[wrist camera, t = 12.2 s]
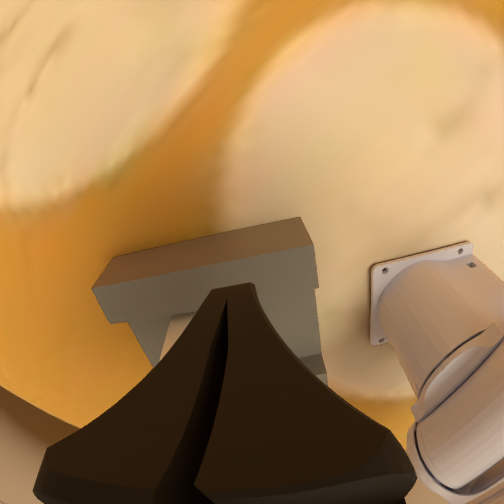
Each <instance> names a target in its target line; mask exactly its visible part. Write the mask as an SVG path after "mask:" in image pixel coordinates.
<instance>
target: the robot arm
mask: <svg viewBox="0 0 504 504" xmlns="http://www.w3.org/2000/svg"><path fill="white" fill-rule="evenodd" d="M459 249H460V251H459ZM458 251H459V252H458ZM383 268H386V269H385V271H382V270H383ZM381 338H382V339H381ZM387 342H390V344H391V346H392V348H393V350H394V352H395V354H396V356H397V358H398V360H399V362H400V364H401V366H402V368H403V370H404V372H405V374H406V376H407V378H408V380H409V382H410V384H411V386H412V388H413V391H414V393H415V395H416V397H417V399H418V400H417V402H416V403H415V404H414V405H413V406H412V407H411V411H412V413H413V415H414V418H415V420H416V421H415V422H414V423H413V424H412V425H411V426H410V428H409V430H408V433H407V453H406V452H405V450H404V449H403V447H402V446H401V444H400V443H399V442H398V440H397V439H396V437H395V436H394V435H393V433H392V432H391V431H390V430H389V429H388V428H386V427H384V426H383V425H381V424H379V423H378V422H376V421H374V420H373V419H371V418H370V417H368V416H367V415H365V414H364V413H362V412H361V411H359V410H358V409H356V408H355V407H353V406H352V405H351V404H349V403H348V402H347V401H345V400H344V399H343V398H341V397H340V396H339V395H337V394H336V393H335V392H334V391H333V390H331V389H330V388H329V387H328V386H327V385H326V384H324V383H323V382H322V381H321V380H320V379H319V378H318V377H316V376H315V375H314V374H313V373H312V372H311V371H310V370H309V369H308V368H307V367H306V366H305V365H304V364H303V363H302V362H301V361H300V360H299V359H298V357H297V356H296V355H295V354H294V353H293V352H292V351H291V349H290V348H289V347H288V346H287V345H286V343H285V342H284V341H283V339H282V338H281V337H280V335H279V334H278V333H277V331H276V330H275V328H274V327H273V325H272V324H271V322H270V321H269V319H268V317H267V316H266V314H265V312H264V310H263V308H262V307H261V304H260V302H259V299H258V295H257V291H256V287H255V284H253V283H251V282H248V283H243V284H238V285H232V286H227V287H222V288H216V289H212V290H211V291H210V293H209V294H208V295H207V297H206V298H205V300H204V301H203V303H202V304H201V306H200V307H199V309H198V311H197V312H196V314H195V315H194V317H193V318H192V320H191V321H190V322H189V324H188V325H187V327H186V328H185V330H184V331H183V333H182V334H181V335H180V337H179V338H178V339H177V340H176V342H175V343H174V344H173V346H172V347H171V348H170V349H169V351H168V352H167V353H166V355H165V356H164V357H163V358H162V359H161V360H160V362H159V363H158V364H157V365H156V366H155V367H154V368H153V369H152V370H151V371H150V372H149V373H148V374H147V375H146V377H145V378H144V379H143V380H142V381H141V382H139V383H138V384H137V385H136V386H135V387H134V388H133V389H132V390H131V391H129V392H128V393H127V394H126V395H125V396H124V397H123V398H122V399H120V400H119V401H118V402H117V403H116V404H115V405H113V406H112V407H111V408H109V409H108V410H107V411H106V412H104V413H103V414H102V415H100V416H99V417H97V418H96V419H95V420H93V421H92V422H90V423H89V424H87V425H86V426H84V427H83V428H81V429H80V430H78V431H76V432H75V433H73V434H71V435H70V436H68V437H66V438H64V439H62V440H61V441H59V442H57V443H55V444H54V445H52V446H50V447H48V448H47V450H46V452H45V455H44V458H43V461H42V464H41V467H40V470H39V473H38V476H37V479H36V482H35V485H34V488H33V493H34V495H35V496H36V497H37V499H39V500H40V501H41V502H43V503H44V504H406V502H405V499H404V497H405V496H406V495H407V494H408V492H409V491H410V490H411V489H412V487H413V486H414V484H415V482H416V480H417V478H418V479H419V481H420V482H421V483H422V484H423V485H424V486H425V487H427V488H428V489H430V490H432V491H433V492H435V493H437V494H439V495H440V496H442V497H443V498H444V499H445V500H447V501H448V502H449V503H450V504H504V282H503V281H502V280H501V279H500V278H499V277H498V276H497V275H496V274H495V273H493V272H492V271H491V270H490V269H489V268H488V267H487V266H486V265H485V264H483V263H482V262H481V261H480V260H479V259H478V258H476V257H475V256H474V255H473V244H472V243H471V242H470V241H468V242H464V243H460V244H456V245H452V246H448V247H445V248H441V249H437V250H433V251H429V252H425V253H421V254H417V255H413V256H408V257H404V258H400V259H396V260H392V261H388V262H383V263H379V264H376V265H374V266H373V267H372V269H371V319H370V343H371V345H372V346H376V345H380V344H383V343H387ZM0 504H6V503H5V502H3V501H1V500H0Z"/></svg>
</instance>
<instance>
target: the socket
mask: <svg viewBox="0 0 504 504" xmlns="http://www.w3.org/2000/svg"><path fill="white" fill-rule="evenodd" d="M248 282H251V283H253V284H255V287H256V291H257V295H258V299H259V302H260V304H261V307H262V308H263V310H264V312H265V314H266V316H267V317H268V319H269V321H270V322H271V324H272V325H273V327H274V328H275V330H276V331H277V333H278V334H279V335H280V337H281V338H282V339H283V341H284V342H285V343H286V345H287V346H288V347H289V348H290V349H291V351H292V352H293V353H294V354H295V355H296V356H297V357H298V359H299V360H300V361H301V362H302V363H303V364H304V365H305V366H306V367H307V368H308V369H309V370H310V371H311V372H312V373H313V374H314V375H315V376H316V377H318V378H319V379H320V380H321V381H322V382H323V383H324V384H326V385H327V372H326V369H325V365H324V361H323V358H322V354H321V345H320V335H319V325H318V316H317V307H316V298H315V290H314V289H316V288H319V285H318V277H317V268H316V260H315V253H314V245H313V242H312V240H311V238H310V236H309V234H308V232H307V230H306V228H305V226H304V224H303V222H302V219H301V217H297V218H292V219H287V220H282V221H277V222H272V223H267V224H263V225H258V226H253V227H248V228H243V229H238V230H234V231H229V232H224V233H220V234H215V235H210V236H206V237H201V238H196V239H192V240H187V241H183V242H178V243H174V244H169V245H165V246H161V247H156V248H152V249H147V250H143V251H139V252H134V253H130V254H126V255H121V256H117V257H113V259H112V260H111V261H110V263H109V264H108V266H107V267H106V268H105V270H104V271H103V272H102V274H101V275H100V277H99V278H98V280H97V281H96V282H95V284H94V285H93V287H92V288H91V289H92V291H93V293H94V295H95V297H96V299H97V301H98V302H99V304H100V306H101V308H102V310H103V312H104V314H105V316H106V317H107V319H108V321H109V323H110V324H114V323H121V322H128V323H129V325H130V327H131V329H132V331H133V333H134V334H135V336H136V338H137V340H138V342H139V343H140V345H141V347H142V349H143V351H144V352H145V354H146V356H147V357H148V359H149V361H150V362H151V364H152V366H153V368H154V367H155V366H156V365H157V364H158V363H159V362H160V356H161V353H162V349H163V345H164V342H165V338H166V334H167V331H168V327H169V324H170V320H171V317H172V315H176V314H182V313H188V312H194V311H198V309H199V307H200V306H201V304H202V303H203V301H204V300H205V298H206V297H207V295H208V294H209V293H210V291H211V290H212V289H216V288H222V287H227V286H232V285H238V284H243V283H248ZM327 386H328V385H327Z"/></svg>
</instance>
